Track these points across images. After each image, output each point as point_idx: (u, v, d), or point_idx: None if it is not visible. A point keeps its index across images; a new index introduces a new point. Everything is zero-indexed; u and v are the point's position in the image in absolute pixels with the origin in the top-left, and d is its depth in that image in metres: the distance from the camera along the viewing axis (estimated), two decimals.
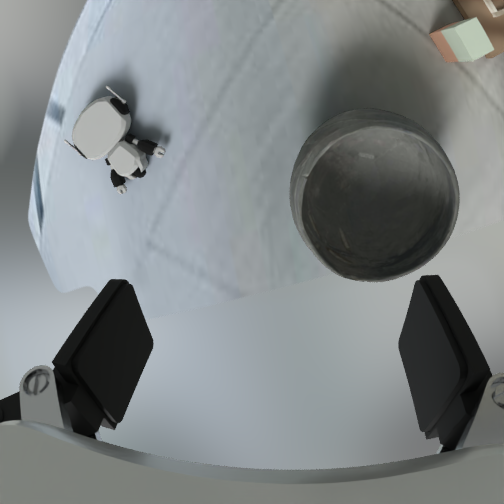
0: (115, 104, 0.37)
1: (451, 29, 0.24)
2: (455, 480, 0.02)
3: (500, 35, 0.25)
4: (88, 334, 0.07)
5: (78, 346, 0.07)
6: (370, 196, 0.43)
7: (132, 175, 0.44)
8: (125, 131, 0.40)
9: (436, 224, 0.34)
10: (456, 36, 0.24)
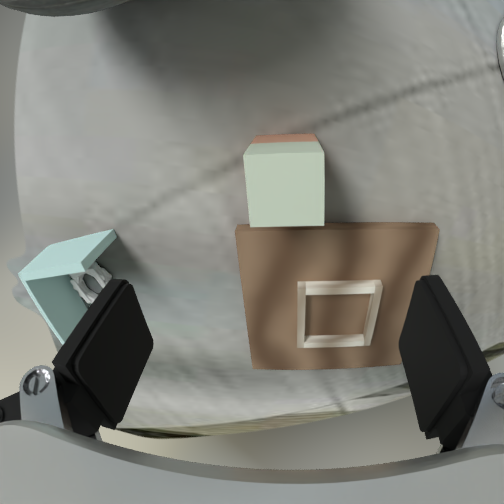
0: None
1: (319, 149, 0.19)
2: (455, 480, 0.02)
3: (266, 275, 0.31)
4: (88, 334, 0.07)
5: (77, 345, 0.07)
6: None
7: None
8: None
9: None
10: (303, 150, 0.19)
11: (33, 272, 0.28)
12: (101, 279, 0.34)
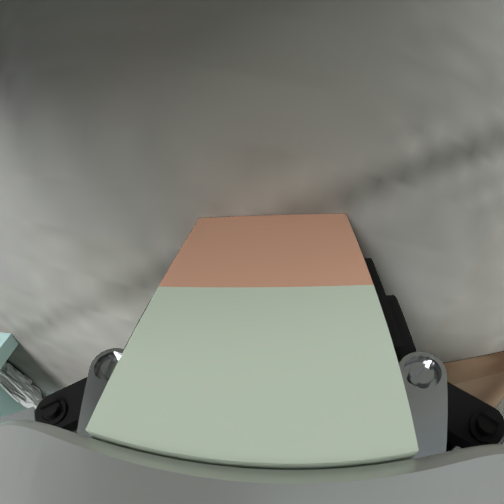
0: None
1: (397, 403, 0.04)
2: (455, 480, 0.02)
3: None
4: None
5: None
6: None
7: None
8: None
9: None
10: (329, 419, 0.04)
11: None
12: (18, 387, 0.19)
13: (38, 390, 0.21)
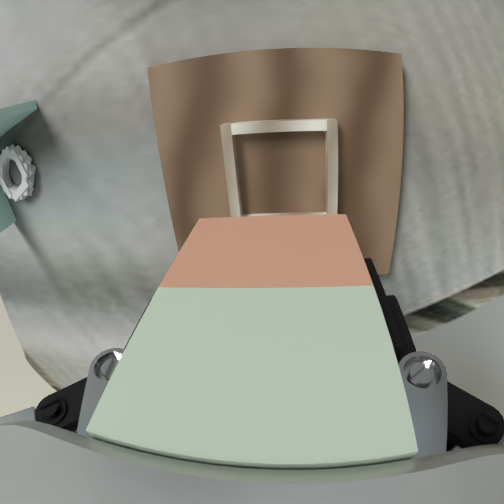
0: None
1: (397, 403, 0.04)
2: (455, 480, 0.02)
3: (184, 118, 0.22)
4: None
5: None
6: None
7: None
8: None
9: None
10: (329, 419, 0.04)
11: None
12: (19, 160, 0.25)
13: (33, 169, 0.27)
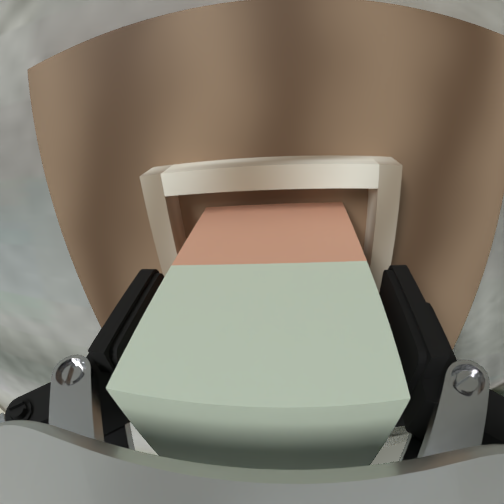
0: None
1: (389, 357, 0.05)
2: (455, 480, 0.02)
3: (85, 159, 0.11)
4: (124, 322, 0.08)
5: (114, 333, 0.07)
6: None
7: None
8: None
9: None
10: (328, 369, 0.05)
11: None
12: None
13: None
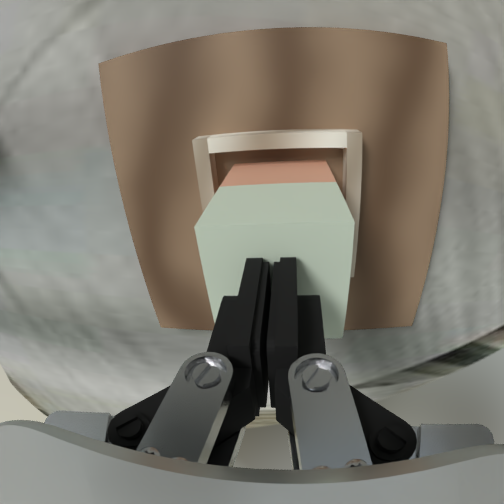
0: None
1: (344, 210, 0.10)
2: (455, 480, 0.02)
3: (146, 130, 0.16)
4: (255, 311, 0.08)
5: (252, 323, 0.07)
6: None
7: None
8: None
9: None
10: (312, 213, 0.10)
11: None
12: None
13: None
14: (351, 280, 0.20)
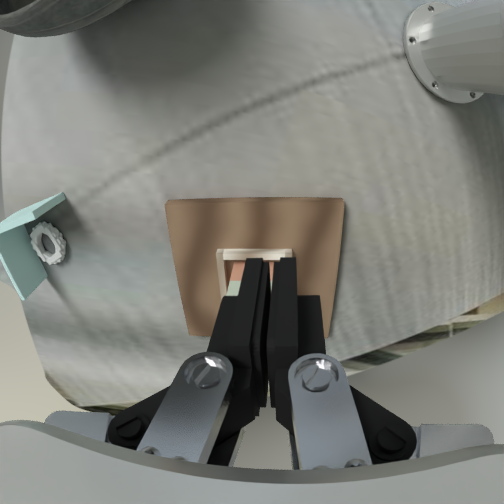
0: None
1: None
2: (455, 480, 0.02)
3: (191, 242, 0.36)
4: (255, 311, 0.08)
5: (252, 323, 0.07)
6: None
7: None
8: None
9: None
10: None
11: None
12: (53, 236, 0.37)
13: (64, 243, 0.39)
14: None
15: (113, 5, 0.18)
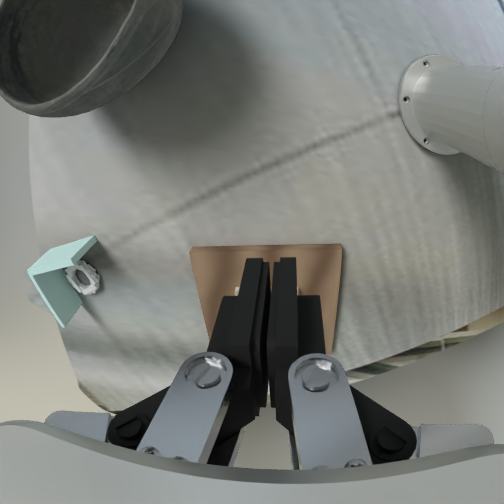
0: None
1: None
2: (455, 480, 0.02)
3: (213, 282, 0.43)
4: (255, 311, 0.08)
5: (252, 323, 0.07)
6: (93, 32, 0.26)
7: None
8: None
9: (25, 89, 0.22)
10: None
11: (37, 268, 0.39)
12: (88, 272, 0.45)
13: (98, 277, 0.47)
14: None
15: (129, 88, 0.25)
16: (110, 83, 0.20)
